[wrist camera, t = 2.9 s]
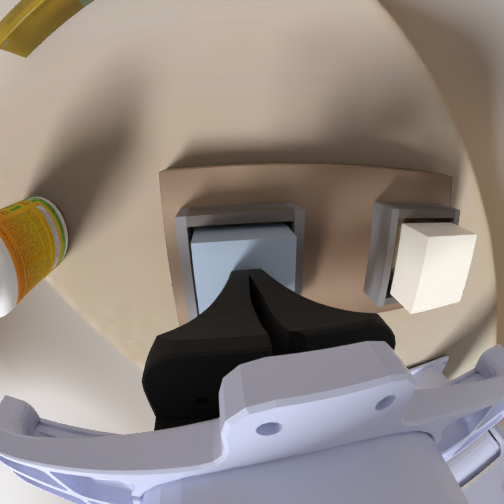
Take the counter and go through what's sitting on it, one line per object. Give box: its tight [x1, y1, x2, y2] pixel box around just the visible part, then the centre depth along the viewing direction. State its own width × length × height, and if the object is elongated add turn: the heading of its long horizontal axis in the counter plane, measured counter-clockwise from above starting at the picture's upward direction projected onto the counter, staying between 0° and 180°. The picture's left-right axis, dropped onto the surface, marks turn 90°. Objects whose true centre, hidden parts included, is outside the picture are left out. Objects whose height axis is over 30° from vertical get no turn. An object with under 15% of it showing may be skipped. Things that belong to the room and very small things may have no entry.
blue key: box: [191, 222, 297, 315], centre depth 13 cm, size 4×4×2 cm
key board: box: [159, 163, 460, 326], centre depth 16 cm, size 10×19×4 cm, turn 91°
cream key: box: [390, 223, 477, 314], centre depth 14 cm, size 4×4×2 cm
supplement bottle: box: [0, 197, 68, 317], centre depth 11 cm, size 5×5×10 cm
